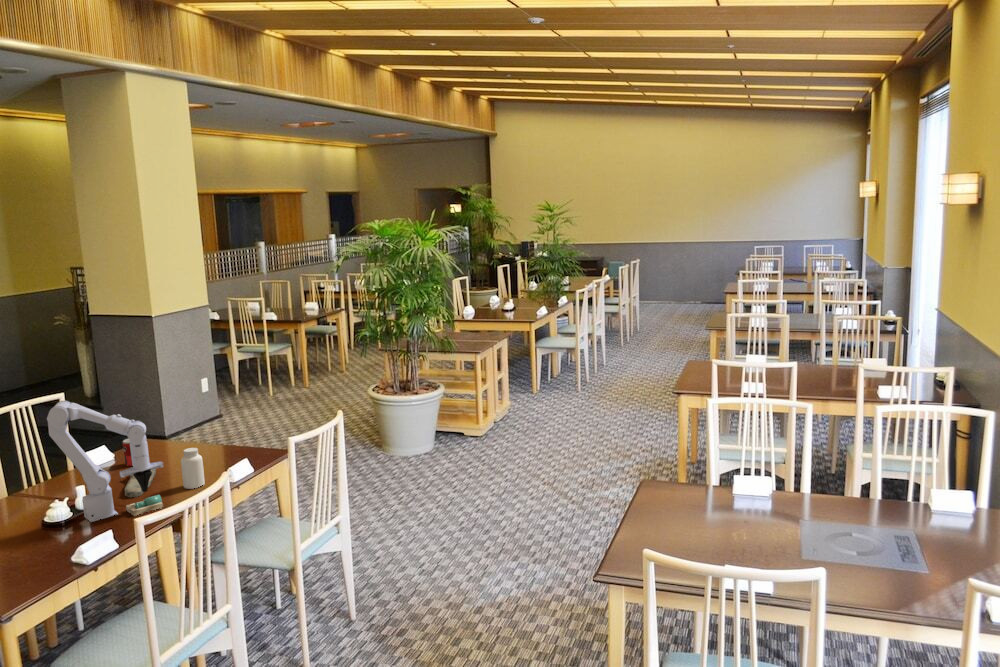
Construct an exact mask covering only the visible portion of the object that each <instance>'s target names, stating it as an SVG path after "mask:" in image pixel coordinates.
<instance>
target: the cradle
mask: <svg viewBox="0 0 1000 667" xmlns="http://www.w3.org/2000/svg"><path fill="white" fill-rule="evenodd" d="M143 501H144V500H142V501H137V502H134V503H130V504H127V505H125V511H126V512H127V513H129V514H130V513H131V514H130V515H132V516H133V517H137V515H138V516H140V515H139V514H141V515H144V514H143V513H144V512H148V513H150V512H149V511H150V510H155V511H157V510H156V509H159V508H160V509H159V510H161V509H163V508H164V503H163V501H162V502H160V503H157V504H153V505H150V506H146V507H143V508H139V509H136V508H135V503H139V502H143ZM162 507H163V508H162Z"/></svg>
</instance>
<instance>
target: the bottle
mask: <svg viewBox="0 0 1000 667" xmlns="http://www.w3.org/2000/svg"><path fill="white" fill-rule="evenodd" d="M142 501H143V502H141V501H138V502H139V503H137V502H134V503H135V508H136V509H139V508H143V507H146V506H150V505H153V504H157V503H160V502H162V503H163V499H162V496H161V495H160V494H157V495H156V494H155V495H152V496H148V497H146V498H144V499H143V500H142Z"/></svg>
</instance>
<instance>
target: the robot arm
mask: <svg viewBox="0 0 1000 667" xmlns="http://www.w3.org/2000/svg"><path fill="white" fill-rule="evenodd" d="M78 419H83V420H86V421H90V422H93V423H96V424H99V425H100V424H101V425H104V427H105V429H106V430H107V431H111V432H113V433H115V434H119V435H122V436H127V439H130V450H131V457H132V465H133V467H129V468H126V469H124V470H119V478H125V477H127V476H128V477H129V476H130V475H132V474H133V475H134V477H135V478H136V479H137V481H138V483H139V485H140V487H141V490H142V491H143V492H144V493H145V492H148V488H149V487H148V483H149V479H150V477H151V475H152V472H151V471H150V470H152V469H156V470H157V469H160V468H164V462H163V461H162V460H161V461H155V462H150V455H149V446H148V441H147V435H146V433H147V425H146V424H145V423H144V422H142V421H141V420H135V419H134V418H133V419H128V418H126V417H122V414H119V413H118V414H112V415H107V414H105V413H101V412H98V411H96V410H94V409H91V408H88V407H86V406H84V405H80V404H78V403H77V402H76V403H75V402H70V401H68V400H61V401H58V402H57V403H56V404H55V405H54V406H53V407H52V408H50V410H48V414H47V417H46V421H47V426H48V435H49V437H50V438H51V440H53V442H54V443H55V444H56V445H57V446H58V448H59V449H60V450H61V451H62V452H63V453H64V455H65V456H66V457H67V458H68V460H69V461H70V462H71V463H72V464H73V465H74V466H75V468H76V469H77V470H78V471H79V473H80V474H81V475H82V479H83V482H84V483H85V484H86V487H87V490H88V494H86V495H83V496H82V498H81V500H82V508H83V514H84V516H83V517H84V518H85V519H86V520H87V519H88V520H89V521H90V522H89V521H88V520H87V521H88V522H89V523H93V522H96V521H101V520H103V519H104V520H105V519H107V518H110V517H111V518H112V517H114V515H115V516H118V515H119V513H118V512H117V510H115V505H114V498H113V491H112V487H111V486H110V485H109V484H110V483H111V481H112V480H111V479H112V477H111V474H110V473H109V472H108V471H106V470H104V469H102V468H101V466H99V465H97V464H96V463H95V462H94V461H93V460H92V459H91V458H90V456H88V454H87V453H86V452H85V450H84V449H83V448H82V447H81V446H80V445H79V443H78V442H77V441H76V439H74V437H73V436H72V435H71V434H70V432H68V430H67V428H68V424H69V421H75V420H78ZM100 519H101V520H100Z"/></svg>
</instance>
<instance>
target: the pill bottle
mask: <svg viewBox="0 0 1000 667" xmlns="http://www.w3.org/2000/svg"><path fill="white" fill-rule="evenodd" d="M182 452H183V456H182V457H181V460H180V466H181V474H182V476H181V477H182V483H183V484H182V485H183V488H184V489H186V490H192V489H193V490H194V488H195V489H198V487H199V488H201V487H200V486H202V485H203V486H205V484H206V483H205V472H204V463H203V462H204V461H203V457H202V455H200V454H199V448H197V447H190V448H189V447H188V448H185V449H184V450H182ZM203 486H202V487H203Z"/></svg>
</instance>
